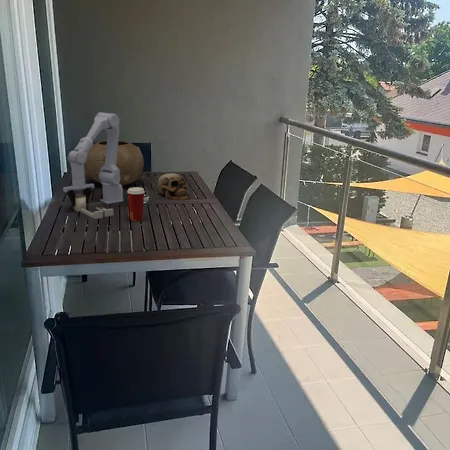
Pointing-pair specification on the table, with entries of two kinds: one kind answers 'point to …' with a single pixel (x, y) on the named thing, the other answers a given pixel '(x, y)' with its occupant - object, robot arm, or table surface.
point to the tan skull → (172, 186)
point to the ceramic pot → (126, 161)
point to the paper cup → (136, 203)
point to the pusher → (95, 207)
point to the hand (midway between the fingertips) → (80, 204)
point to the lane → (98, 213)
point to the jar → (80, 202)
